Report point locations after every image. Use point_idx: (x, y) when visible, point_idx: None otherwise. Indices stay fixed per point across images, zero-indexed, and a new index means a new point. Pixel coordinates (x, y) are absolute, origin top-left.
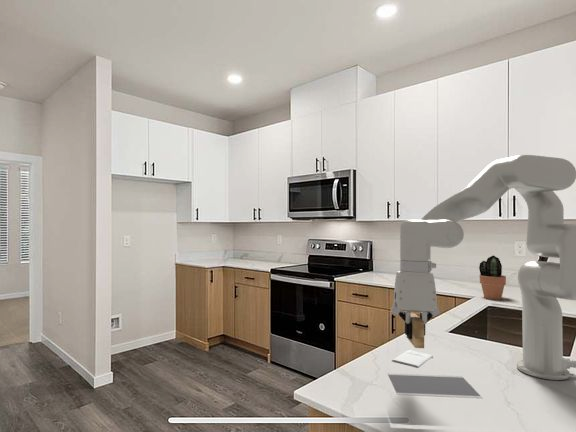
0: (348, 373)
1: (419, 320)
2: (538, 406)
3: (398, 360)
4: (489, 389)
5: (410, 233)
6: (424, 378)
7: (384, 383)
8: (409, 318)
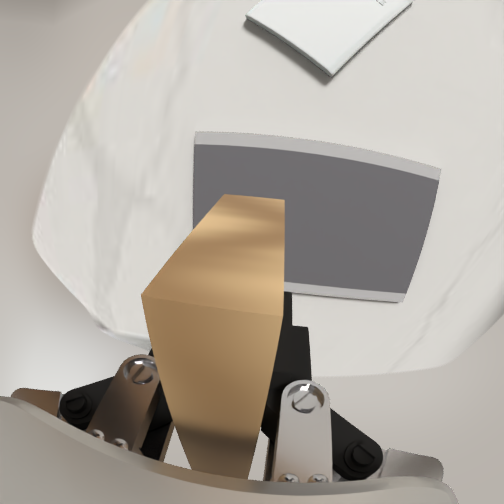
0: (91, 132)
1: (226, 469)
2: (471, 314)
3: (268, 22)
4: (456, 243)
5: None
6: (315, 174)
7: (176, 194)
8: (162, 439)
